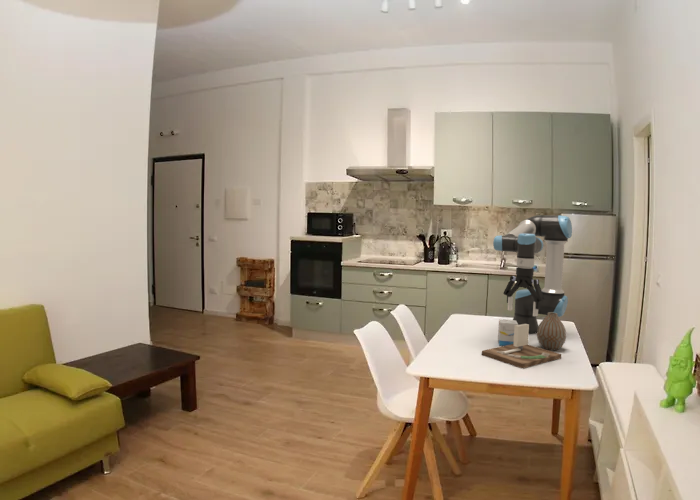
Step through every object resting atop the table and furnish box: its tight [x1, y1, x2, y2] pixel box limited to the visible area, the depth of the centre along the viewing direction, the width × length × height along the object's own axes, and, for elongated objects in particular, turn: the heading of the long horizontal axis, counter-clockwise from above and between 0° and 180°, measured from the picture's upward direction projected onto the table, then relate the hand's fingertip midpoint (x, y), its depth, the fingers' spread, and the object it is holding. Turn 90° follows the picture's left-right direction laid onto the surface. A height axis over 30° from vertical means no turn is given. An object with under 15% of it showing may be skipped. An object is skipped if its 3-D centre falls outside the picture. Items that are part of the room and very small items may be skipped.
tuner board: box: [481, 344, 562, 369], centre depth 220 cm, size 28×22×2 cm
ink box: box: [497, 318, 518, 347], centre depth 241 cm, size 9×8×12 cm
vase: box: [536, 312, 567, 351], centre depth 235 cm, size 13×13×18 cm
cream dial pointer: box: [502, 324, 530, 354], centre depth 220 cm, size 16×2×12 cm, turn 124°
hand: (522, 313), depth 221 cm, fingers open, 13 cm apart
